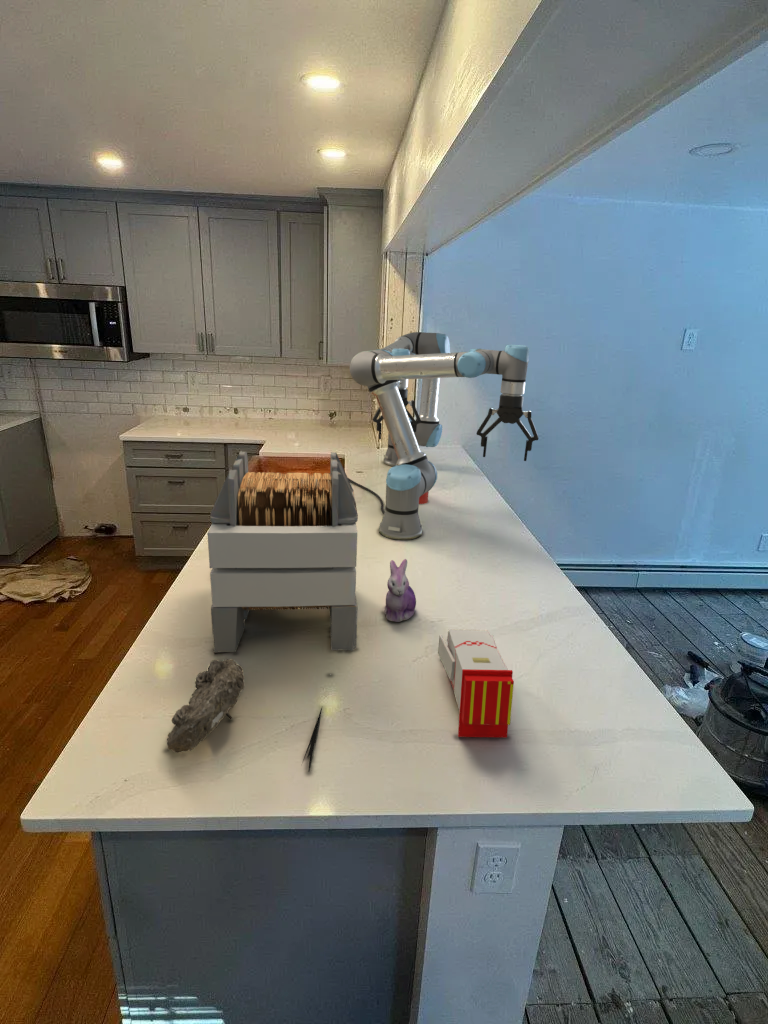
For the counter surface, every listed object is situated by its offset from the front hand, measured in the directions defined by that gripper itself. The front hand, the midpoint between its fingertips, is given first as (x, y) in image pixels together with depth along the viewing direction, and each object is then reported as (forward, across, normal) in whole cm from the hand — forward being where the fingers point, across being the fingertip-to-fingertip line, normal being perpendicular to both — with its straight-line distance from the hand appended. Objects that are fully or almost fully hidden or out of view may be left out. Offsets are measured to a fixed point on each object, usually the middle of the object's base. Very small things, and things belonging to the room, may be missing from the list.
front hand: (504, 458), depth 191 cm
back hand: (+6, +46, -39) cm, 61 cm away
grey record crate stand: (+29, +48, +72) cm, 92 cm away
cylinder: (+29, +33, -30) cm, 53 cm away
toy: (+29, +1, +90) cm, 94 cm away
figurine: (+29, +22, +63) cm, 73 cm away
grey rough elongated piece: (+29, +48, +112) cm, 125 cm away
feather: (+29, +28, +107) cm, 114 cm away
